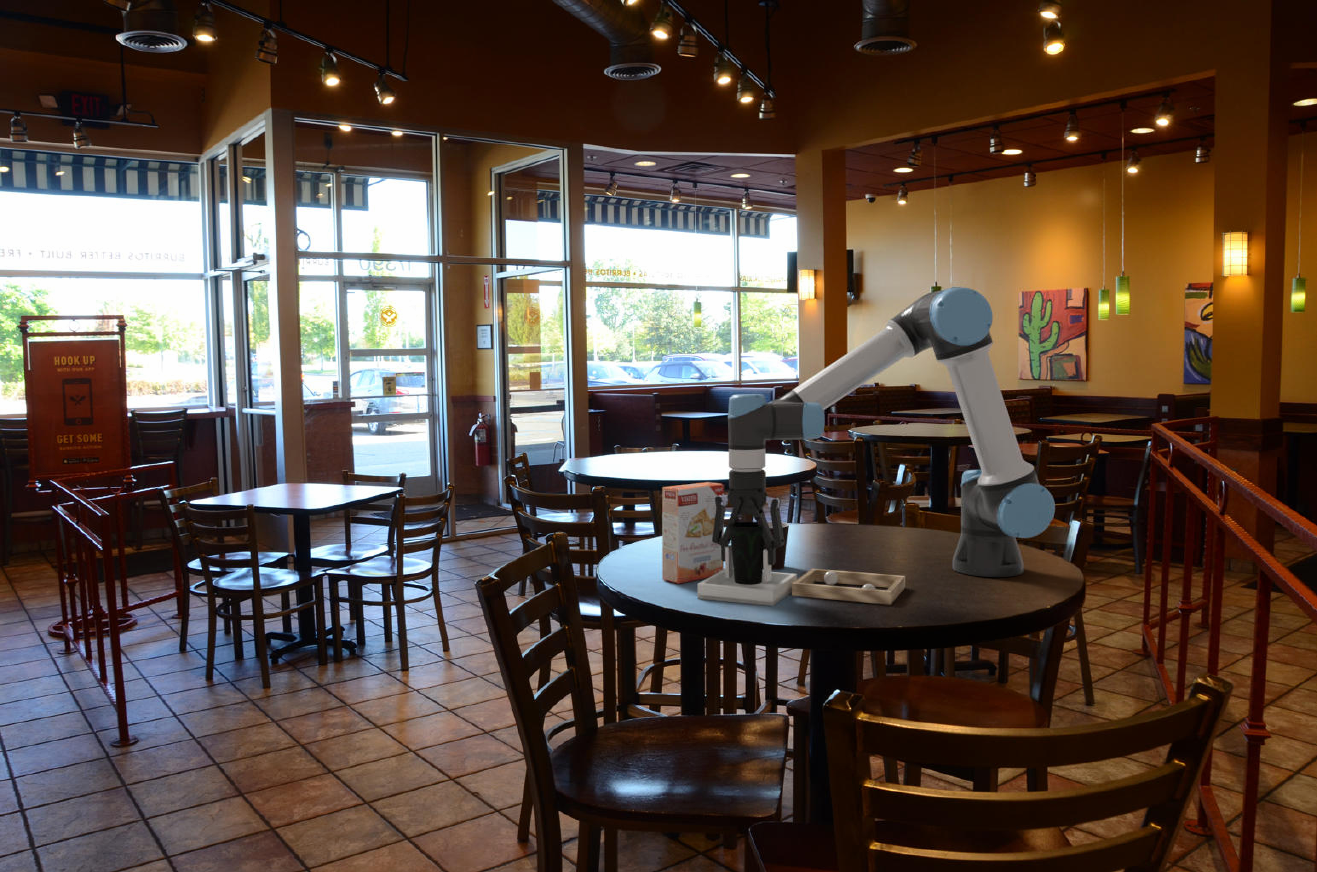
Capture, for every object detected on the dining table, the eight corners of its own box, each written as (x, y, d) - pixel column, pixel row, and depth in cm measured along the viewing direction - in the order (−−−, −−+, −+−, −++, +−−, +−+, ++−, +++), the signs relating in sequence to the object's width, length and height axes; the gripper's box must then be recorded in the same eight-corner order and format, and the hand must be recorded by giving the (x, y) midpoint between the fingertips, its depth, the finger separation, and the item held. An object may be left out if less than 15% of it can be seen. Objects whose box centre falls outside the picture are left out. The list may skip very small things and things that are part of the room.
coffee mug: (787, 571, 217) (787, 528, 216) (750, 570, 219) (749, 527, 218) (791, 561, 228) (790, 519, 228) (755, 560, 230) (754, 519, 229)
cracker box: (679, 585, 206) (678, 489, 204) (661, 580, 210) (660, 486, 208) (726, 575, 215) (725, 483, 213) (707, 570, 219) (706, 480, 217)
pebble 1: (839, 584, 204) (839, 570, 204) (836, 587, 201) (836, 573, 201) (825, 582, 205) (826, 569, 205) (822, 585, 203) (822, 572, 203)
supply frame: (904, 587, 200) (905, 576, 200) (890, 604, 186) (890, 592, 186) (812, 579, 208) (812, 568, 208) (792, 595, 195) (792, 583, 195)
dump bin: (796, 587, 201) (796, 574, 201) (772, 605, 187) (772, 590, 187) (725, 581, 208) (725, 568, 208) (697, 598, 194) (697, 583, 193)
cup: (743, 575, 203) (742, 520, 202) (773, 580, 198) (773, 523, 197) (722, 582, 197) (721, 525, 196) (753, 587, 192) (752, 529, 191)
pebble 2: (877, 597, 192) (877, 582, 192) (874, 601, 189) (874, 586, 189) (862, 596, 193) (862, 581, 193) (859, 599, 191) (859, 584, 191)
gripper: (800, 468, 194) (801, 578, 196) (707, 465, 203) (709, 571, 205) (789, 472, 188) (790, 586, 189) (694, 469, 196) (695, 578, 198)
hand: (748, 578), depth 197 cm, fingers closed on cup, 8 cm apart
